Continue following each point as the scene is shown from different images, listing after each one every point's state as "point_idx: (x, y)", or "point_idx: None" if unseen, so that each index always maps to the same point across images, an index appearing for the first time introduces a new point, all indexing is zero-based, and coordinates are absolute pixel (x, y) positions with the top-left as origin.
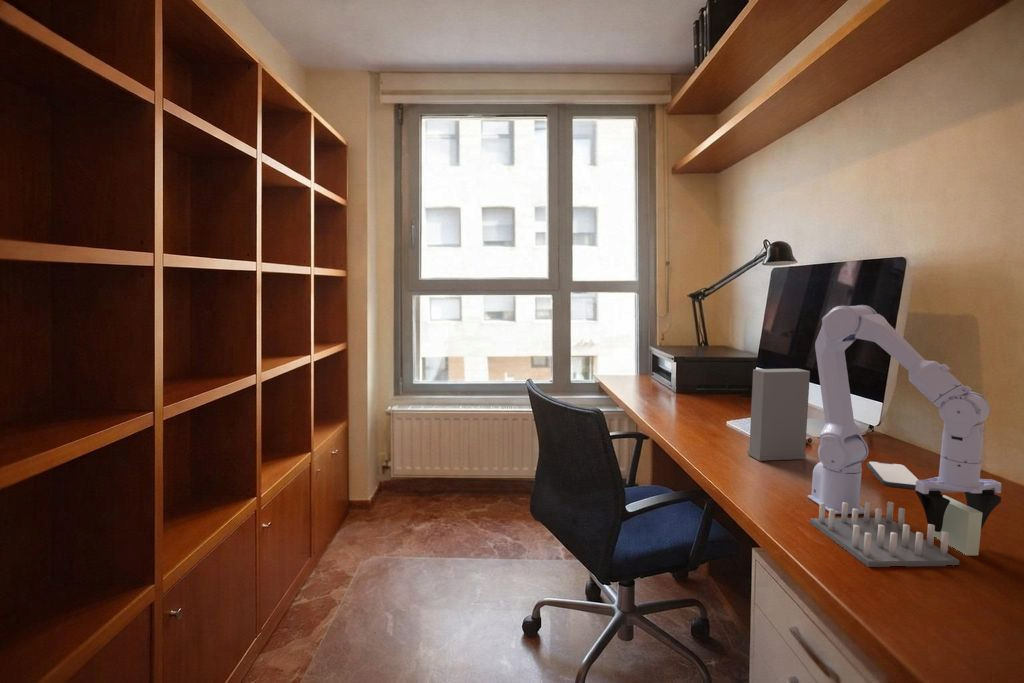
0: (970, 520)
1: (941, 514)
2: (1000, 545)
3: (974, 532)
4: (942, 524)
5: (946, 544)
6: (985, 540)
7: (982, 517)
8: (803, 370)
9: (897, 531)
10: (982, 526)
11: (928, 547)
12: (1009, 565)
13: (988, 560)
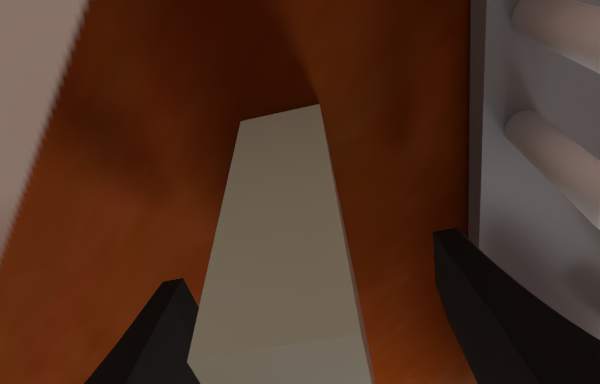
0: (324, 263)
1: (534, 323)
2: (70, 250)
3: (273, 194)
4: (455, 264)
5: (593, 8)
6: (121, 283)
7: (137, 361)
8: None
9: (553, 265)
10: (148, 304)
11: (546, 106)
12: (116, 14)
13: (216, 62)
